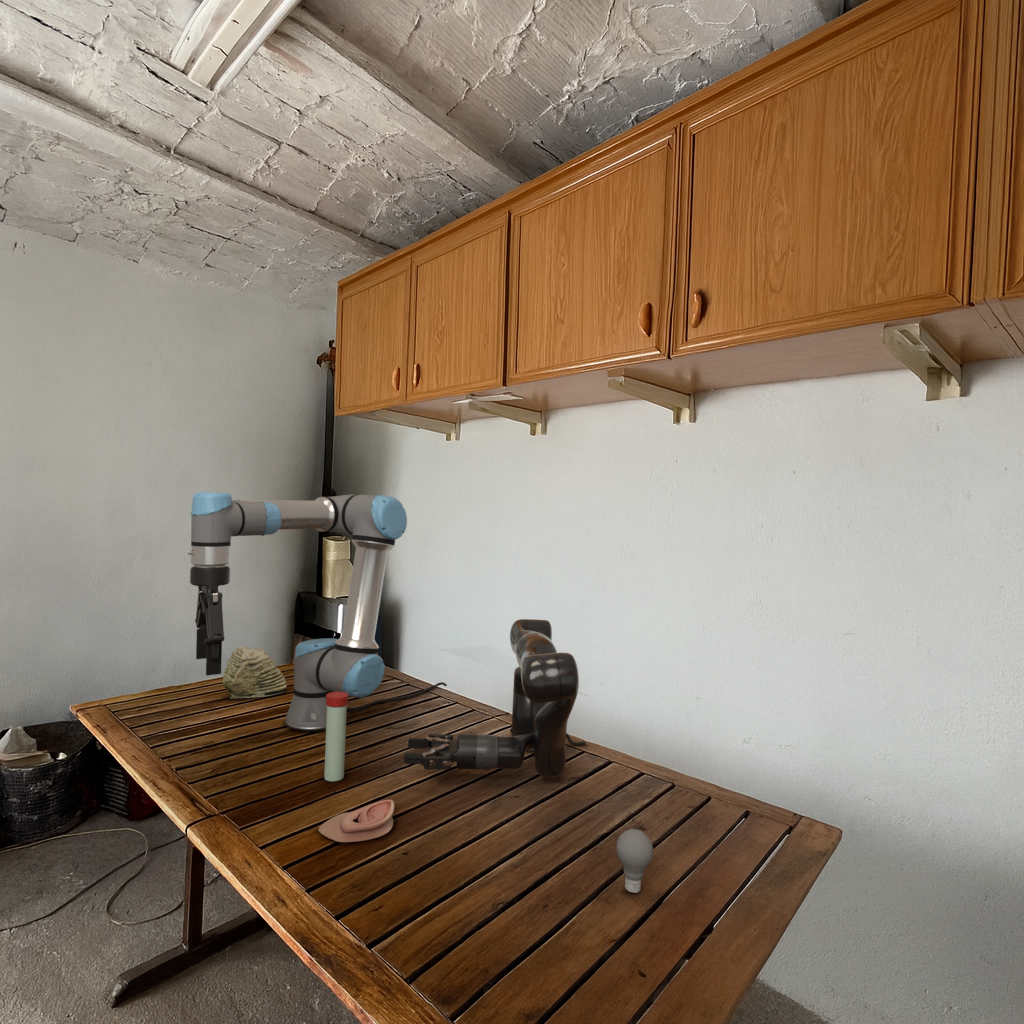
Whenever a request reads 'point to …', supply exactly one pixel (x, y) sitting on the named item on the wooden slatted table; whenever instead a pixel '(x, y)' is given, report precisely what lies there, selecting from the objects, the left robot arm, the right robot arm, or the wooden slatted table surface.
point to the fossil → (252, 674)
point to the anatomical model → (360, 823)
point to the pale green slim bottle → (335, 743)
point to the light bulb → (634, 857)
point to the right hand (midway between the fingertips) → (406, 750)
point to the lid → (337, 699)
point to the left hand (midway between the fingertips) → (208, 666)
